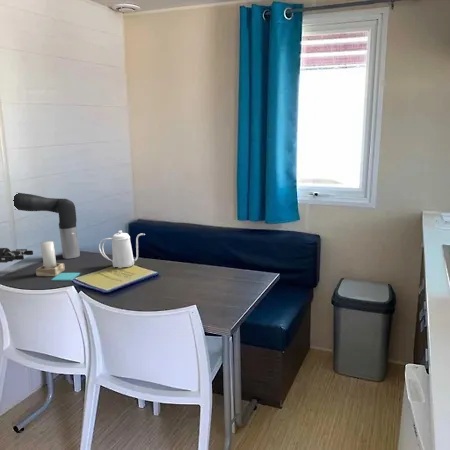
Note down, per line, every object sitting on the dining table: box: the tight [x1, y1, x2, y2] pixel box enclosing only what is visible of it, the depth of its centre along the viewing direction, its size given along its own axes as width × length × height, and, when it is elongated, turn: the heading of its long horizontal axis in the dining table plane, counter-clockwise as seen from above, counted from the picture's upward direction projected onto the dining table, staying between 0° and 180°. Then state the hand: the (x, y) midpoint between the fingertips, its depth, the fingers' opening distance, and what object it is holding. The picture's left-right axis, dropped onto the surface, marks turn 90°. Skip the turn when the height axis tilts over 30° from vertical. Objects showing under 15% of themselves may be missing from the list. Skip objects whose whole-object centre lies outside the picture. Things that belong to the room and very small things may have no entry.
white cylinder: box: [40, 240, 57, 269], centre depth 228 cm, size 6×6×16 cm
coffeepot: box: [98, 230, 146, 268], centre depth 234 cm, size 11×25×19 cm, turn 84°
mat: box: [51, 272, 81, 282], centre depth 222 cm, size 10×10×1 cm
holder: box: [35, 262, 66, 277], centre depth 230 cm, size 10×10×4 cm
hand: (28, 255), depth 229 cm, fingers open, 8 cm apart
